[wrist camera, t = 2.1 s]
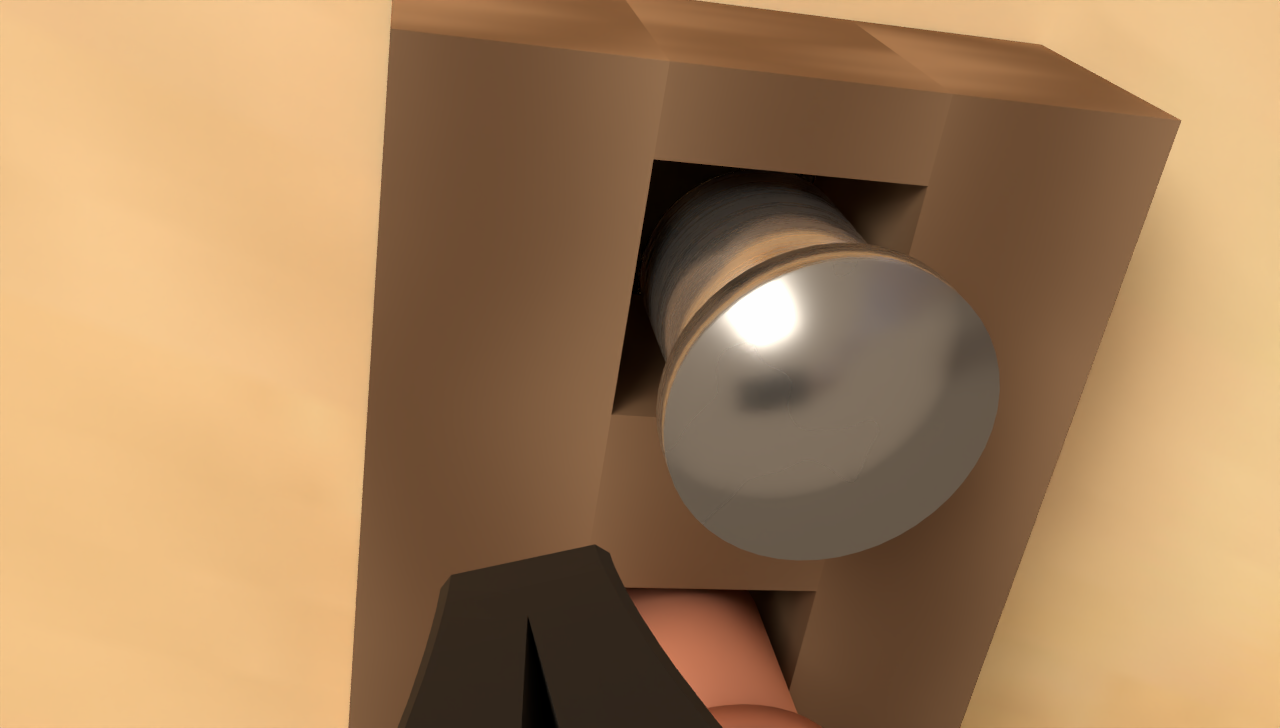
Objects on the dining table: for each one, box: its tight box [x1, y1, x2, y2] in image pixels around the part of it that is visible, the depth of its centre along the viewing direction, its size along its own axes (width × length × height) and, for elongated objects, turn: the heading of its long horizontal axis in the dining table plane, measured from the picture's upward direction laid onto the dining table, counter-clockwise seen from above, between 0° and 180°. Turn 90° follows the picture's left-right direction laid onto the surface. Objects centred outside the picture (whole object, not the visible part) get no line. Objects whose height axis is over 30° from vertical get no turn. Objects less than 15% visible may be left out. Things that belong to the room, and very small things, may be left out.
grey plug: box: [640, 169, 1000, 560], centre depth 15 cm, size 4×4×4 cm
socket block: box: [349, 0, 1181, 728], centre depth 21 cm, size 10×19×4 cm, turn 171°
